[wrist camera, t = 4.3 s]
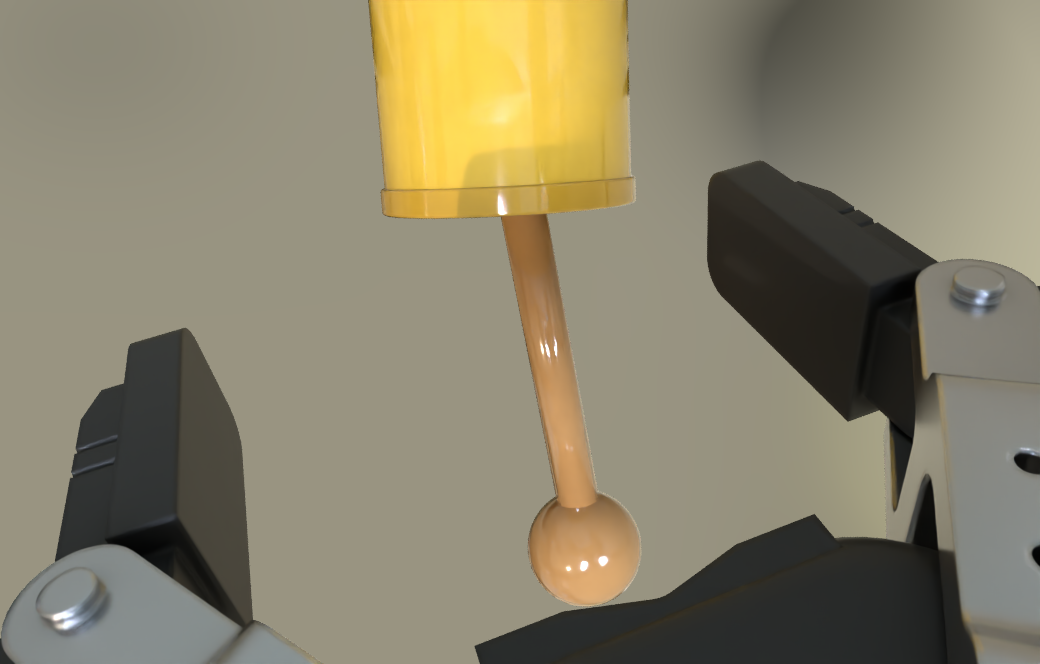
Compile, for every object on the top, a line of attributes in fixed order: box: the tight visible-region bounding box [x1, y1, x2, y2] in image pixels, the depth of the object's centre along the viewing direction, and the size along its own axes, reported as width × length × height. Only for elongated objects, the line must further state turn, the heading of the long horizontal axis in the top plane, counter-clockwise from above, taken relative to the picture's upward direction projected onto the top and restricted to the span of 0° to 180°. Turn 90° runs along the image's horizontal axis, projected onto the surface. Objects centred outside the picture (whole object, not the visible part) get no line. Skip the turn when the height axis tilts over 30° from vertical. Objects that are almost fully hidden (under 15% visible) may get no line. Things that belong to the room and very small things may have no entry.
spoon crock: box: [368, 0, 641, 607], centre depth 19 cm, size 6×6×22 cm
